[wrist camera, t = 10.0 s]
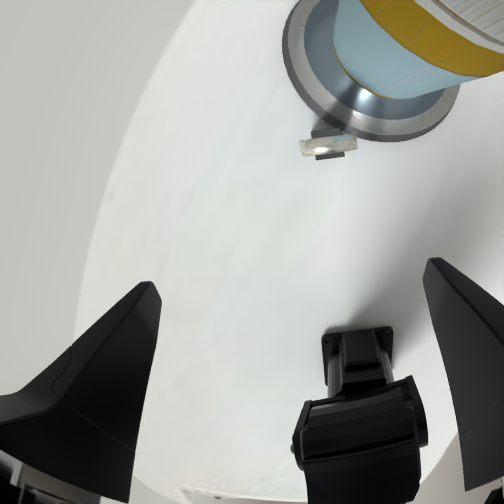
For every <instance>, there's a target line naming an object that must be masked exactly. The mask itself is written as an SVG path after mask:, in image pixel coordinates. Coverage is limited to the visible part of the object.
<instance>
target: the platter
mask: <svg viewBox="0 0 504 504" xmlns="http://www.w3.org/2000/svg"><path fill="white" fill-rule="evenodd" d="M338 4H339V0H301V2H300V3H299V4H298V6H297V7H296V9H295V11H294V13H293V15H292V18H291V21H290V25H289V31H288V47H289V53H290V58H291V61H292V64H293V67H294V70H295V73H296V75H297V77H298V79H299V81H300V82H301V84H302V86H303V87H304V89H305V90H306V92H307V93H308V94H309V95H310V96H311V98H312V99H313V100H314V101H315V102H316V103H317V104H318V105H319V106H320V107H321V108H322V109H324V110H325V111H326V112H327V113H329V114H330V115H331V116H333V117H334V118H336V119H338V120H339V121H341V122H343V123H345V124H347V125H349V126H351V127H353V128H356V129H359V130H361V131H365V132H369V133H373V134H381V135H404V134H411V133H415V132H418V131H422V130H424V129H426V128H428V127H430V126H432V125H433V124H435V123H436V122H438V121H439V120H440V119H441V118H442V117H443V116H445V115H446V113H447V112H448V111H449V109H450V108H451V107H452V105H453V103H454V101H455V100H456V97H457V94H458V91H459V88H460V84H457V85H453V86H450V87H446V88H443V89H440V90H436V91H433V92H430V93H427V94H424V95H420V96H417V97H414V98H410V99H398V100H393V99H388V98H384V97H380V96H376V95H374V94H372V93H370V92H368V91H367V90H365V89H363V88H361V87H360V86H359V85H357V84H356V83H355V82H354V81H353V80H352V79H351V78H350V77H349V76H348V75H347V74H346V73H345V71H344V70H343V68H342V66H341V65H340V63H339V62H338V60H337V57H336V54H335V50H334V46H333V34H334V25H335V20H336V15H337V10H338Z"/></svg>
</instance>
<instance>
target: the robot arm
mask: <svg viewBox="0 0 504 504" xmlns="http://www.w3.org/2000/svg"><path fill="white" fill-rule="evenodd" d="M423 285H424V289H425V293H426V298H427V302H428V306H429V311H430V316H431V320H432V324H433V328H434V331H435V334H436V338H437V341H438V344H439V348H440V351H441V355H442V358H443V362H444V366H445V370H446V374H447V378H448V382H449V386H450V391H451V395H452V400H453V405H454V410H455V415H456V420H457V426H458V432H459V436H460V437H459V440H460V447H461V454H462V462H463V473H464V486H465V491H469V490H471V489H474V488H477V487H480V486H482V485H485V484H487V483H490V482H492V481H494V480H497V479H499V478H501V481H502V486H500V487H498V488H496V489H494V490H492V491H491V493H490V495H489V496H488V498H487V500H486V501H485V503H484V504H504V305H503V304H501V303H500V302H499V301H498V300H497V299H495V298H494V297H493V296H492V295H490V294H489V293H488V292H487V291H485V290H484V289H483V288H481V287H480V286H479V285H478V284H476V283H475V282H474V281H472V280H471V279H470V278H468V277H467V276H466V275H464V274H463V273H462V272H460V271H459V270H457V269H456V268H455V267H453V266H452V265H451V264H449V263H448V262H446V261H445V260H444V259H442V258H441V257H433V258H429V259H428V261H427V264H426V268H425V272H424V276H423ZM161 306H162V301H161V297H160V295H159V293H158V291H157V289H156V287H155V285H154V283H153V282H151V281H143V282H140V283H139V284H137V285H136V286H135V287H134V288H133V289H132V290H131V291H130V292H128V293H127V294H126V295H125V296H124V297H123V298H122V299H121V300H119V301H118V302H117V303H116V304H115V305H114V306H113V307H112V308H111V309H110V310H108V311H107V312H106V313H105V314H104V315H103V316H102V317H101V318H100V319H99V320H97V321H96V322H95V323H94V324H93V325H92V326H91V327H90V328H89V329H88V330H87V331H86V332H85V333H84V334H82V335H81V336H80V337H79V338H78V339H77V340H76V341H75V342H74V343H73V344H72V346H70V347H69V348H68V349H67V350H66V351H65V352H64V353H63V354H61V355H60V356H59V357H58V358H57V359H56V360H55V361H54V362H53V363H52V364H50V365H49V366H48V367H47V368H46V369H45V370H44V371H42V372H41V373H40V374H39V375H38V376H36V377H35V378H34V379H33V380H32V381H31V382H30V383H28V384H27V385H26V386H25V387H23V388H22V389H21V390H19V391H18V392H15V393H13V394H9V395H2V396H0V504H100V503H101V499H102V496H103V497H106V498H109V499H113V500H116V501H120V502H123V503H127V504H128V502H129V496H130V487H131V479H132V473H133V466H134V459H135V451H136V445H137V439H138V433H139V427H140V422H141V416H142V411H143V405H144V400H145V395H146V390H147V385H148V381H149V376H150V371H151V367H152V362H153V357H154V353H155V349H156V344H157V337H158V329H159V321H160V314H161ZM388 331H389V333H386V332H388ZM325 339H329V340H328V341H326V340H325ZM321 343H322V353H323V364H324V375H325V384H326V386H328V398H326V399H321V400H315V401H312V400H309V401H305V403H304V406H303V409H302V411H301V414H300V417H299V419H298V422H297V425H296V428H295V431H294V434H293V437H292V441H293V443H292V445H291V452H292V453H293V454H294V455H295V459H296V462H297V465H298V467H299V469H300V470H302V471H304V473H305V479H306V484H307V496H308V504H406V503H407V502H411V501H413V500H414V498H415V496H416V494H417V492H418V490H419V486H420V484H419V481H420V479H421V462H420V450H419V448H421V447H424V446H427V445H428V429H427V421H426V416H425V411H424V407H423V403H422V400H421V397H420V395H419V392H418V389H417V387H416V384H415V382H414V379H413V377H412V375H410V376H407V377H405V379H401V380H398V381H395V382H394V378H393V373H392V369H391V358H392V347H393V329H392V328H391V327H381V328H374V329H365V330H357V331H349V332H341V333H332V334H325V335H323V336H322V338H321Z"/></svg>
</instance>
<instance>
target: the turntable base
mask: <svg viewBox="0 0 504 504" xmlns="http://www.w3.org/2000/svg"><path fill="white" fill-rule="evenodd" d="M300 2H301V0H300V1H299V2H298V3H297V4H296V5H295V7H294V8H293V9H292V11H291V12H290V14H289V16H288V19H287V21H286V24H285V27H284V30H283V38H282V53H283V58H284V64H285V67H286V70H287V73H288V75H289V78H290V80H291V82H292V84H293V86H294V88H295V90H296V91H297V93H298V94H299V96H300V97H301V99H302V100H303V101H304V102H305V103H306V105H307V106H308V107H309V108H310V109H311V110H312V111H313V112H314V113H315V114H316V115H317V116H319V117H320V118H321V119H322V120H324V121H325V122H326V123H328V124H330V125H331V126H333V127H334V129H327V130H319V131H313V132H311V137H312V139H308V140H302V141H299V144H300V149H301V154H302V156H313V155H315V158H316V160H322V159H330V158H337V157H345V154H344V151H350V150H355V149H358V147H357V141H356V137H357V138H361V139H365V140H369V141H378V142H400V141H407V140H410V139H414V138H417V137H419V136H422V135H424V134H426V133H428V132H429V131H431V130H432V129H434V128H435V127H436V126H437V125H439V124H440V123H441V122H442V121H443V120H444V118H445V117H446V116H447V115H448V113H449V112H450V110H451V108H452V107H451V108H450V109H449V111H448V112H447V113H446V115H445V116H443V117H442V118H441V119H440V120H439V121H438V122H436V123H435V124H433V125H432V126H430V127H428V128H426V129H424V130H422V131H418V132H415V133H411V134H404V135H381V134H373V133H369V132H365V131H361V130H359V129H356V128H353V127H351V126H349V125H347V124H345V123H343V122H341V121H339V120H338V119H336V118H334V117H333V116H331V115H330V114H329V113H327V112H326V111H325V110H324V109H322V108H321V107H320V106H319V105H318V104H317V103H316V102H315V101H314V100H313V99H312V98H311V96H310V95H309V94H308V93H307V92H306V90H305V89H304V87H303V86H302V84H301V82H300V81H299V79H298V77H297V75H296V73H295V70H294V67H293V64H292V61H291V58H290V53H289V47H288V31H289V25H290V21H291V18H292V15H293V13H294V11H295V9H296V7H297V6H298V4H299V3H300ZM454 102H455V101H454ZM453 104H454V103H453ZM452 106H453V105H452ZM340 131H342V132H344V133H346V134H344V135H341V132H340Z"/></svg>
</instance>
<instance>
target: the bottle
mask: <svg viewBox="0 0 504 504" xmlns="http://www.w3.org/2000/svg"><path fill="white" fill-rule="evenodd" d="M333 46H334V50H335V54H336V57H337V60H338V62H339V63H340V65H341V66H342V68H343V70H344V71H345V73H346V74H347V75H348V76H349V77H350V78H351V79H352V80H353V81H354V82H355V83H356V84H357V85H359V86H360V87H361V88H363V89H365V90H367V91H368V92H370V93H372V94H374V95H376V96H380V97H384V98H388V99H393V100H398V99H410V98H414V97H417V96H420V95H424V94H427V93H430V92H433V91H436V90H440V89H443V88H446V87H450V86H453V85H457V84H460V83H464V82H468V81H471V80H475V79H479V78H483V77H487V76H490V75H492V74H495V73H498V72H501V71H504V0H339V4H338V10H337V15H336V20H335V25H334V34H333Z"/></svg>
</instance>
